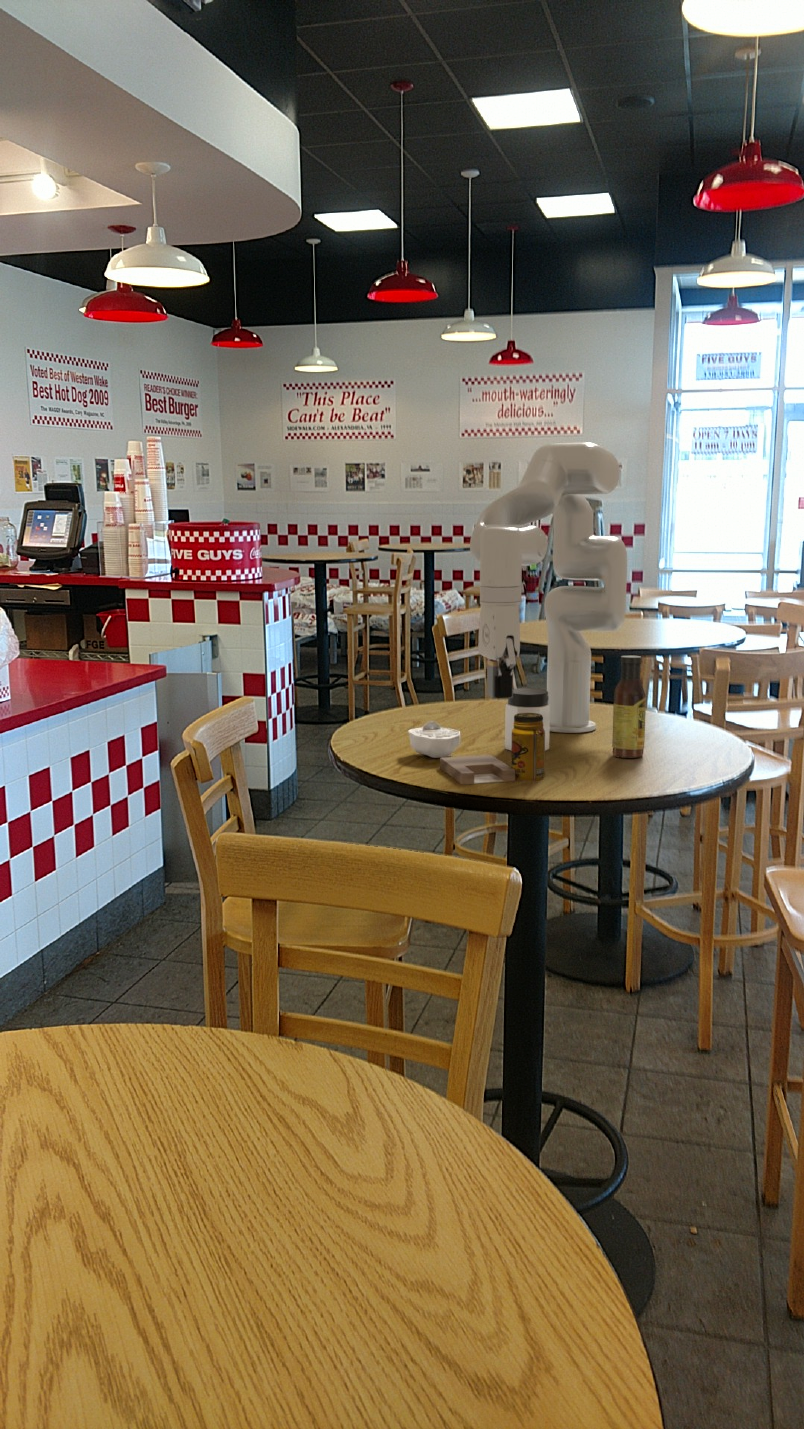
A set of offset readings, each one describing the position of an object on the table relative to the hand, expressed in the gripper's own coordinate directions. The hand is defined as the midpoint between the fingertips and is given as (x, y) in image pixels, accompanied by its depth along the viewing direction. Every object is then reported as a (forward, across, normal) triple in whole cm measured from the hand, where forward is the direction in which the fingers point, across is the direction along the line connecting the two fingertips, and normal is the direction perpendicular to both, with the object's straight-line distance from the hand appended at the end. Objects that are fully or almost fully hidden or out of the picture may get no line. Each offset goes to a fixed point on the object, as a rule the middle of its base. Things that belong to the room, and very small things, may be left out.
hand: (499, 694), depth 197 cm
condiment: (+15, +6, +4) cm, 17 cm away
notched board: (+14, +2, -5) cm, 15 cm away
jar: (+15, -15, +12) cm, 24 cm away
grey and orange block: (0, 0, 0) cm, 0 cm away
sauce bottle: (+15, -4, +29) cm, 33 cm away
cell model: (+15, -14, -8) cm, 22 cm away
